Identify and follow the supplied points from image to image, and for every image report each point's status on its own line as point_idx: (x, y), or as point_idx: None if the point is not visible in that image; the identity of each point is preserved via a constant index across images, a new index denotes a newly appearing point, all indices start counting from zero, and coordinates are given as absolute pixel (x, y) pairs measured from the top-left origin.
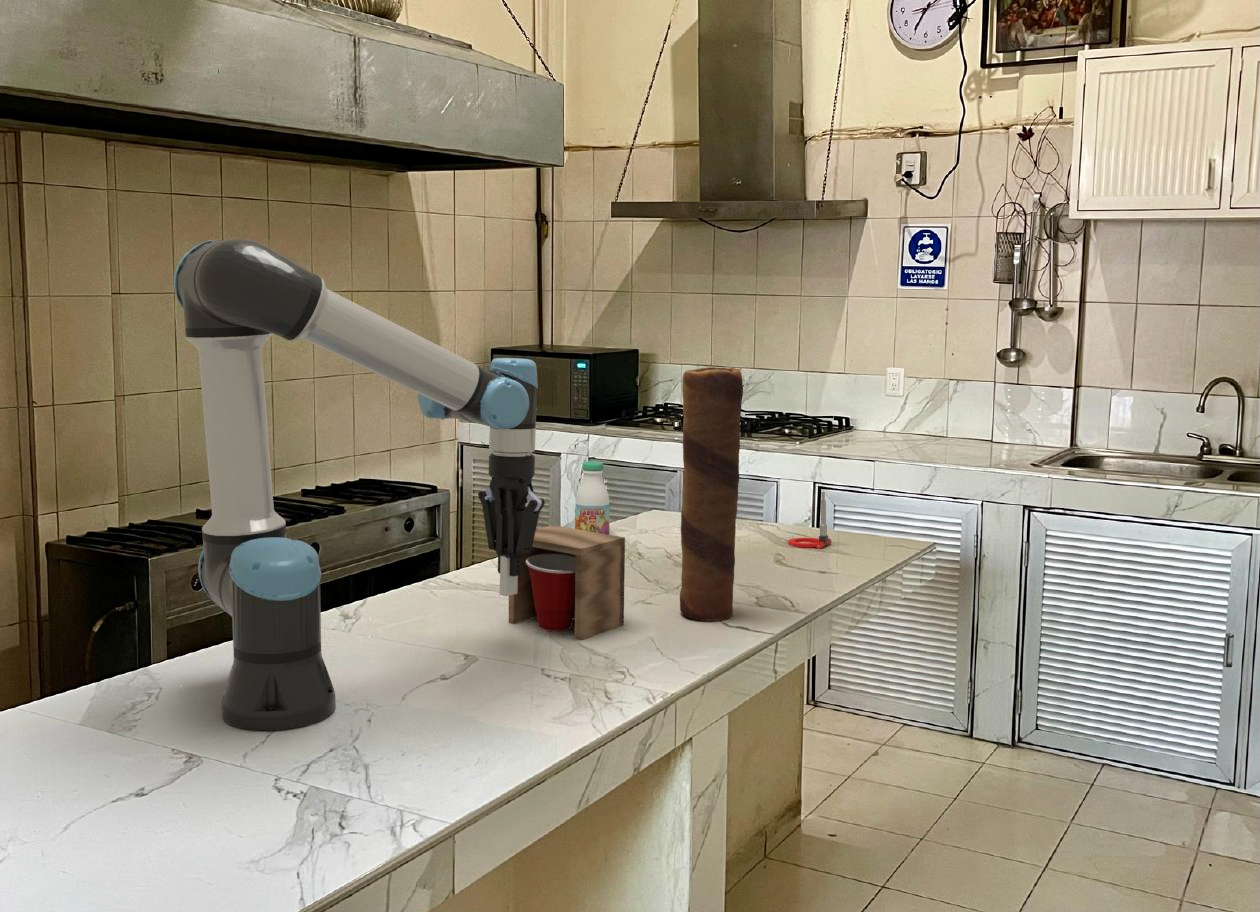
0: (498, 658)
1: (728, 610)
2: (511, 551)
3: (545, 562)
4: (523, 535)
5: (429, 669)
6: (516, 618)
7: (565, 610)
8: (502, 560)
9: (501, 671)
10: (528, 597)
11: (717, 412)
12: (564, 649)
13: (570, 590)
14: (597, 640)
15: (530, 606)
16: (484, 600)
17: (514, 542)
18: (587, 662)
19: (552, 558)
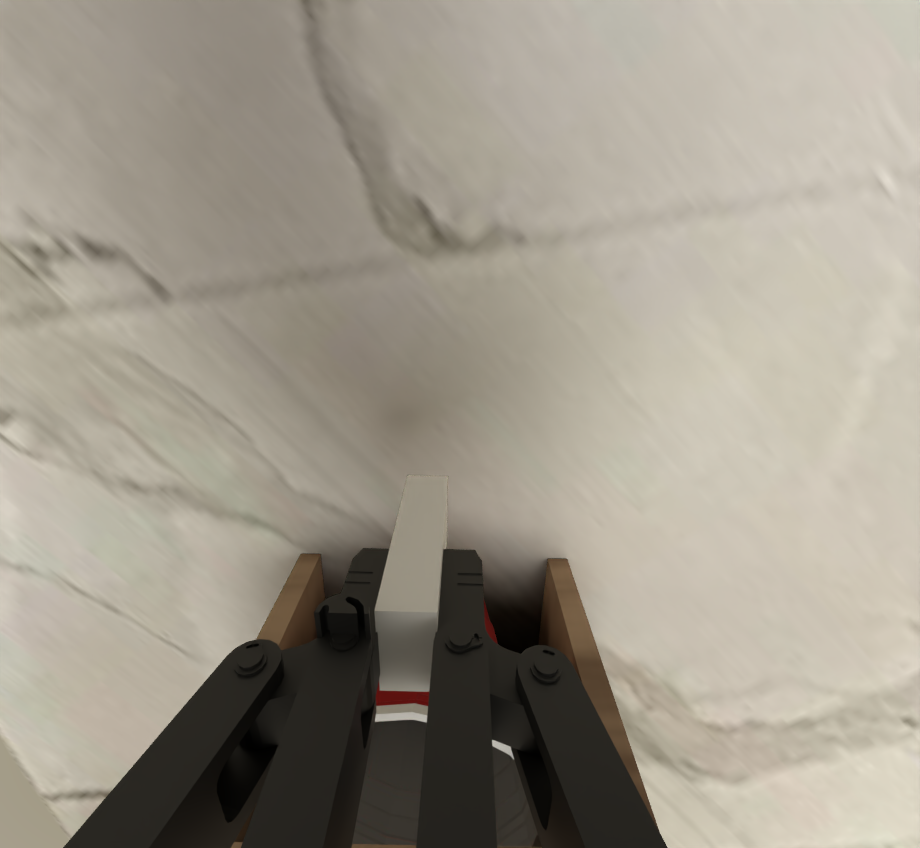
0: (342, 284)
1: None
2: (327, 655)
3: (517, 807)
4: (105, 821)
5: (429, 5)
6: (548, 577)
7: None
8: (420, 591)
9: (227, 179)
10: None
11: None
12: (268, 472)
13: None
14: (268, 577)
15: (547, 642)
16: (756, 661)
17: (286, 734)
18: (129, 422)
19: (503, 840)
